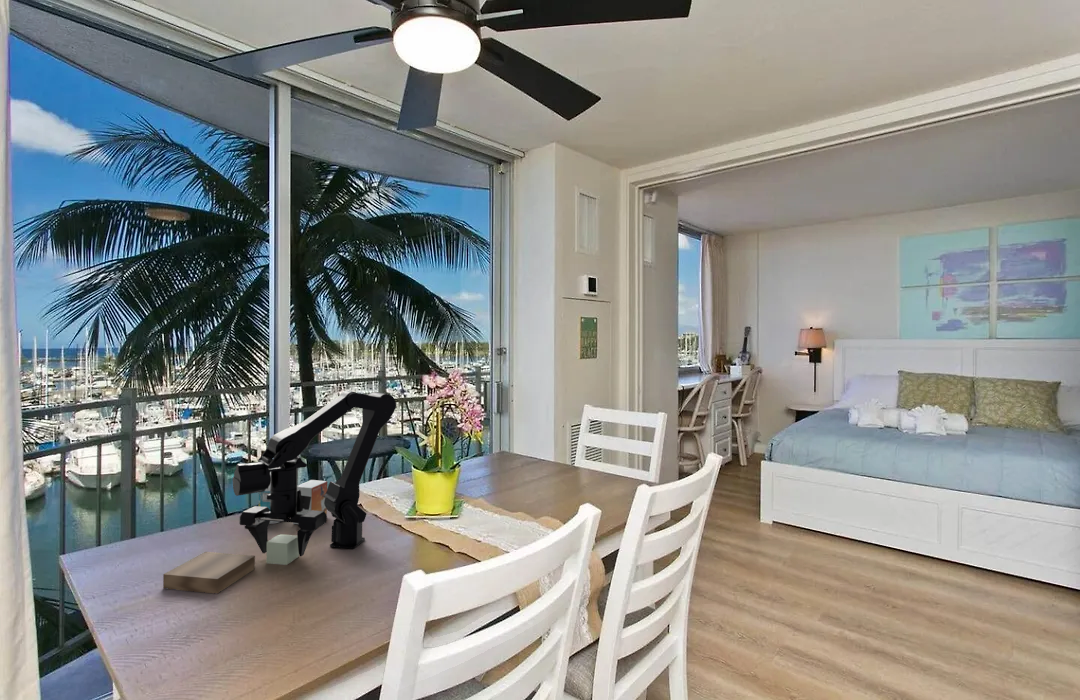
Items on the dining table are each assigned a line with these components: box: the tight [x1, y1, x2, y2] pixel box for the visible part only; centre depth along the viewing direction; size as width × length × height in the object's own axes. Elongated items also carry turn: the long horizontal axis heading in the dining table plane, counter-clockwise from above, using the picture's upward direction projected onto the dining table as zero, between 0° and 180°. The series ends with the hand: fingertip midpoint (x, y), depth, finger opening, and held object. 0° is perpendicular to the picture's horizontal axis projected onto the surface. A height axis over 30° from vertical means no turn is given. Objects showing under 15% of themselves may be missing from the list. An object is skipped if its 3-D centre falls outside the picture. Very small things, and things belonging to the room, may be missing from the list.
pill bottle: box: [258, 472, 280, 525], centre depth 156 cm, size 8×7×14 cm
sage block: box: [265, 534, 300, 566], centre depth 130 cm, size 5×5×5 cm
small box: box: [292, 479, 328, 525], centre depth 157 cm, size 8×6×10 cm
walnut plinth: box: [162, 551, 256, 594], centre depth 119 cm, size 12×12×3 cm
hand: (283, 554), depth 130 cm, fingers open, 9 cm apart
